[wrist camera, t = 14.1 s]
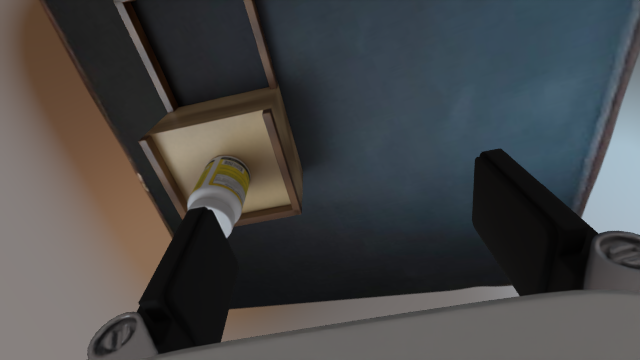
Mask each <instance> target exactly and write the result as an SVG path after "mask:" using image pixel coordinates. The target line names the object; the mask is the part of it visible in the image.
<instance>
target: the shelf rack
mask: <svg viewBox="0 0 640 360" xmlns="http://www.w3.org/2000/svg"><path fill="white" fill-rule="evenodd" d="M113 1H114V3H115V5H116V7H117V9H118V12H119V14H120V16H121V18H122V20H123V22H124V24H125V26H126V28H127V30H128V32H129V34H130V36H131V38H132V40H133V42H134V44H135V46H136V48H137V51H138V53H139V55H140V57H141V59H142V61H143V63H144V65H145V67H146V69H147V71H148V73H149V75H150V77H151V79H152V81H153V83H154V85H155V87H156V89H157V92H158V94H159V96H160V98H161V100H162V102H163V104H164V106H165V108H166V110H167V112H168V114H167V115H166V116H165V117H164V118H163V119H162V120H160V121H159V122H158V123H157V124H156V125H155V126H154V127H153V128H152V129H151V130H150V131H149V132H148V133H147V134H145V135H144V137H142V138H141V139H140V140H139V141H138V142H139V144H140V146H141V147H142V149H143V151H144V153H145V154H146V156H147V158H148V160H149V161H150V163H151V165H152V167H153V168H154V170H155V172H156V174H157V176H158V177H159V179H160V181H161V183H162V184H163V186H164V188H165V190H166V191H167V193H168V195H169V197H170V198H171V200H172V202H173V204H174V206H175V207H176V209H177V211H178V213H179V214H180V216H181V218H182V220H183V218H184V216H185V215H186V212H187V211H188V208H187V204H188V199H189V197H190V195H191V193H192V191H193V189H194V188H195V186H196V184H197V182H198V180H199V178H200V177H201V175H202V173H203V171H204V169H205V167H206V165H207V164H208V163H209V162H210V161H211V160H212V159H214V158H216V157H219V156H232V157H235V158H237V159H239V160H241V161H242V162H243V163H244V164H245V165H246V166H247V168H248V169H249V172H250V184H249V187H248V191H247V195H246V198H245V202H244V205H243V209H242V213H241V215H240V218H239V219H238V221H237V222H236V223H235V224H234V226H233V227H235V226H240V225H246V224H251V223H256V222H262V221H267V220H272V219H278V218H283V217H288V216H293V215H299V214H301V213H302V187H303V170H302V167H301V163H300V159H299V156H298V152H297V149H296V145H295V142H294V138H293V135H292V131H291V128H290V124H289V121H288V117H287V114H286V110H285V106H284V103H283V99H282V96H281V92H280V89H279V85H278V82H277V78H276V75H275V71H274V68H273V64H272V61H271V57H270V53H269V50H268V46H267V43H266V39H265V36H264V32H263V29H262V25H261V22H260V18H259V15H258V11H257V7H256V4H255V0H244V4H245V7H246V10H247V14H248V17H249V20H250V24H251V27H252V30H253V34H254V37H255V40H256V44H257V47H258V50H259V54H260V57H261V60H262V64H263V67H264V70H265V74H266V77H267V81H268V84H269V87H267V88H262V89H258V90H253V91H249V92H245V93H240V94H236V95H231V96H227V97H222V98H218V99H214V100H209V101H205V102H200V103H196V104H192V105H187V106H183V107H179V106H178V104H177V102H176V100H175V97H174V95H173V93H172V91H171V89H170V87H169V85H168V82H167V80H166V78H165V76H164V74H163V72H162V69H161V67H160V65H159V63H158V61H157V59H156V56H155V54H154V52H153V50H152V48H151V46H150V44H149V41H148V39H147V37H146V35H145V33H144V31H143V28H142V26H141V24H140V22H139V20H138V18H137V16H136V13H135V11H134V9H133V7H132V5H131V3H130V2H132V1H136V0H113Z"/></svg>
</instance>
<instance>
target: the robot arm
mask: <svg viewBox="0 0 640 360" xmlns="http://www.w3.org/2000/svg"><path fill="white" fill-rule="evenodd" d="M472 221H473V225H474V228H475V229H476V231H477V232H478V234H479V235H480V237H481V238H482V240H483V241H484V243H485V244H486V246H487V247H488V249H489V250H490V252H491V253H492V255H493V256H494V258H495V259H496V261H497V262H498V264H499V266H500V267H501V269H502V270H503V272H504V273H505V275H506V276H507V278H508V279H509V281H510V282H511V284H512V285H513V287H514V288H515V289H516V291H517V293H518V294H519V297H511V298H504V299H497V300H489V301H482V302H476V303H469V304H463V305H456V306H450V307H442V308H435V309H429V310H422V311H416V312H409V313H402V314H396V315H389V316H383V317H376V318H370V319H363V320H357V321H351V322H344V323H338V324H332V325H325V326H319V327H313V328H306V329H300V330H293V331H288V332H281V333H275V334H269V335H262V336H256V337H250V338H244V339H238V340H231V341H226V342H221V339H222V335H223V330H224V327H225V322H226V319H227V315H228V311H229V307H230V303H231V299H232V295H233V290H234V286H235V282H236V278H237V274H238V270H239V265H238V261H237V259H236V257H235V255H234V252H233V250H232V248H231V246H230V244H229V242H228V240H227V238H226V236H225V234H224V232H223V230H222V228H221V226H220V224H219V222H218V220H217V218H216V216H215V214H214V212H213V211H212V210H211V209H209V210H208V208H206V207H199V208H193V209H189V210H188V211H187V213H186V215H185V216H184V218H183V220H182V222H181V224H180V226H179V228H178V230H177V231H176V233H175V235H174V237H173V239H172V241H171V243H170V245H169V247H168V248H167V250H166V252H165V254H164V256H163V258H162V260H161V261H160V264H159V265H158V267H157V269H156V271H155V273H154V275H153V277H152V278H151V280H150V282H149V284H148V286H147V288H146V290H145V292H144V293H143V295H142V297H141V299H140V301H139V305H140V306H139V309H138V310H137V312H127V313H124V314H121V315H118V316H116V317H115V318H113V319H111V320H110V321H108V322H107V323H106V324H105V325H103V326H102V327H101V328H100V329H99V330H98V331H97V332H96V334H95V335H94V337H93V338H92V340H91V341H90V344H89V346H88V353H87V355H88V360H640V235H638V234H634V233H631V232H624V231H607V232H603V233H599V234H598V233H597V232H596V231H595V230H594V229H593V228H592V227H590V226H589V225H588V224H587V223H586V222H585V221H584V220H582V219H581V218H580V217H579V216H578V215H577V214H576V213H574V212H573V211H572V210H571V209H570V208H569V207H568V206H566V205H565V204H564V203H563V202H562V201H561V200H560V199H558V198H557V197H556V196H555V195H554V194H553V193H552V192H550V191H549V190H548V189H547V188H546V187H545V186H544V185H542V184H541V183H540V182H539V181H537V180H536V179H535V178H534V177H533V176H532V175H531V174H529V173H528V172H527V171H526V170H525V169H524V168H523V167H522V166H520V165H519V164H518V163H517V162H516V161H515V160H514V159H512V158H511V157H510V156H509V155H508V154H507V153H506V152H504V151H503V150H502V149H494V150H489V151H484V152H482V153H481V154H480V157H477V158H476V159H475V169H474V190H473V211H472Z"/></svg>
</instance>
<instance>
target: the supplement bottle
mask: <svg viewBox="0 0 640 360" xmlns="http://www.w3.org/2000/svg"><path fill="white" fill-rule="evenodd" d="M249 184H250V172H249V169H248V168H247V166H246V165H245V164H244V163H243V162H242V161H241V160H239V159H237V158H235V157H232V156H219V157H216V158H214V159H212V160H211V161H210V162H209V163H208V164H207V165H206V167H205V169H204V171H203V173H202V175H201V177H200V178H199V180H198V182H197V184H196V186H195V188H194V189H193V191H192V193H191V195H190V197H189V199H188V204H187V208H188V210H189V209H193V208H199V207H206V208H208V210H209V209H211V210H212V211H213V212H214V214H215V216H216V218H217V220H218V222H219V224H220V226H221V228H222V230H223V232H224V234H225V236H226V238H227V237H228V236H229V235H230V233H231V231H232V228H233V226H234V224H235V223H236V222H237V221H238V219H239V218H240V215H241V213H242V209H243V205H244V202H245V198H246V195H247V191H248V187H249ZM186 213H187V212H186Z"/></svg>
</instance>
